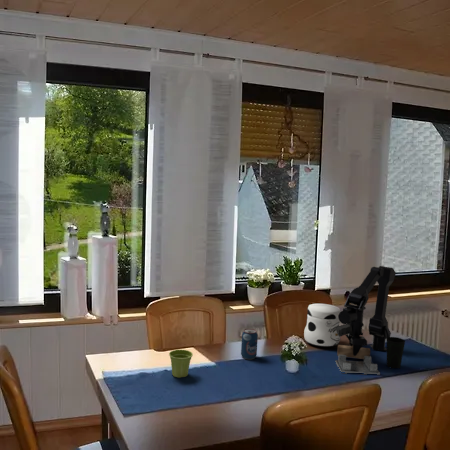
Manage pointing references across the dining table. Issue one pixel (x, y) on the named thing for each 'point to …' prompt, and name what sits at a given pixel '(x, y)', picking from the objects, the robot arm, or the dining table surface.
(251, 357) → the soda can
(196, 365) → the dining table surface
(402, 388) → the dining table surface
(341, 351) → the rail
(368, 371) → the brackets
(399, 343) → the cup
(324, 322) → the milk container
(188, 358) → the plant pot
